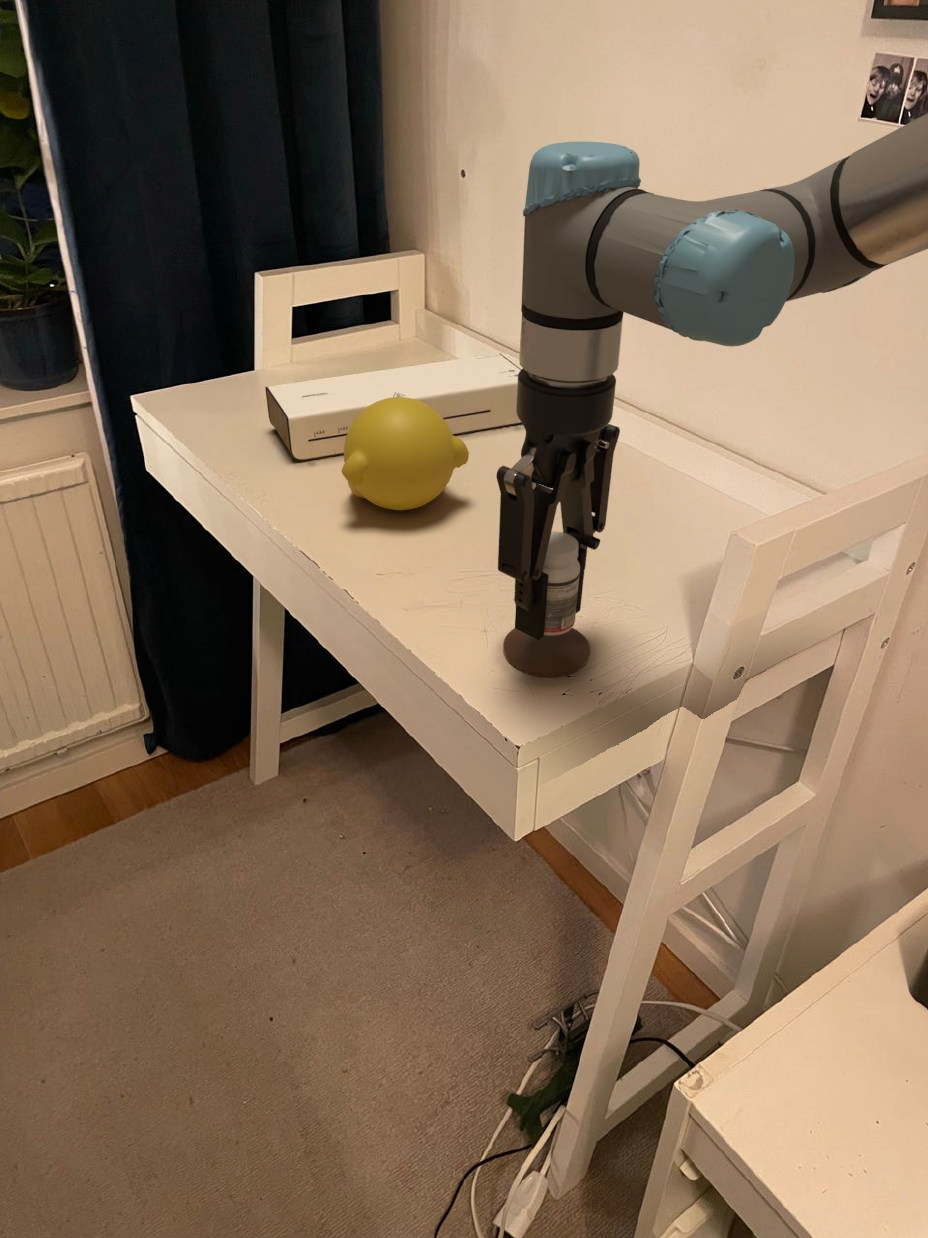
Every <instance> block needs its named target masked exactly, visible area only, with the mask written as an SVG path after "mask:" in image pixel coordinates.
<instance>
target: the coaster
mask: <svg viewBox="0 0 928 1238" xmlns="http://www.w3.org/2000/svg"><path fill="white" fill-rule="evenodd" d="M590 651H591V647H590V644H589V641H588V640H587V638H586V637H585V635H584V634H583V633H581V632H580V631H579V630H577V629H576V628H574V627H572V628H571V629H570V630H569V631H567V632H566V633H563V634H560V635H544V637H542V638H541V639H540V640H537V639H535V638H533V637H531V636H529V635H527V634H525V633H524V632H522V631H520V630H518V629H516V628H515V627H514V628H513V629H512V630H510V631H509V632H508V633H507V634H506V636H505V637H504V640H503V644H502V652H503V655H504V657H505V659H506V661H507V662H508V663H509V664H510V665H511V666H512V667H514V668H515V669H517V670H518V671H520V672H523V673H526V674H528V675H531V676H535V677H541V678H558V677H564V676H568V675H571V674H574V673H576V672H577V671H579V670H581V669H582V668H583V667H584V666H585V665H586V664H587V662H588V660H589V659H590V654H591V653H590Z"/></svg>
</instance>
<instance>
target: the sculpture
mask: <svg viewBox="0 0 928 1238" xmlns="http://www.w3.org/2000/svg"><path fill="white" fill-rule="evenodd" d="M469 455H470V452H469V449H468V447H467V445H466V443H465V442H464V441H463V440H462V439H461V438H460V437H458V436H457V435H454V436H453V435H452V433H451V431H450V429H449V427H448V425H447V423H446V422H445V420H444V419H443V418H442V417H441V416H440V415H439V414H438V413H437V412H436V411H435V410H434V409H433V408H431V407H430V406H428V405H427V404H425V403H423V402H421V401H418V400H415V399H412V398H405V397H393V398H387V399H383V400H380V401H377V402H375V403H373V404H372V405H370V406H368V407H367V408H366V409H364V410H363V411H362V412H361V413H360V414H359V415H358V416H357V417H356V419H355V420H354V421H353V423H352V425H351V427H350V428H349V431H348V433H347V436H346V440H345V445H344V454H343V461H344V463H343V465H342V468H341V474H342V476H343V477H344V478H345V480H347V484H348V487H349V489H350V491H351V493H353V494H354V495H355V496H356V497H359V498H361V499H362V498H363V499H366V500H367V501H368V502H370V503H372V504H374V505H375V506H378V507H380V508H383V509H386V510H393V511H409V510H414V509H418V508H421V507H423V506H425V505H427V504H429V503H431V502H432V501H433V500H434V499H436V498H437V497H438V496H439V495H440V494H441V493H442V492H443V491H444V490H445V488H446V487H447V486H448V484H449V482H450V481H451V478H452V476H453V474H454V470H456V469H457V468H458V469H459V468H461V467H462V466H464V465H466V464H467V463H468V461H469Z"/></svg>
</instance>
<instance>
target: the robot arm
mask: <svg viewBox="0 0 928 1238" xmlns="http://www.w3.org/2000/svg"><path fill="white" fill-rule="evenodd" d="M640 165H641V163H640V158H639V155H638V153H637V152H636V151H634V149H631V148H629V147H627V146H625V145H622V144H617V143H611V142H602V141H563V142H556V143H550V144H546V145H545V146H542V147H541V148H539V149H538V150H536V151H535V152H534V154H533V155H532V158H531V159H530V163H529V167H528V168H529V169H528V177H527V184H526V185H527V186H526V195H525V203H524V208H523V209H522V216H523V217H524V227H523V228H524V230H523V255H522V256H523V257H522V278H521V279H522V284H521V309H520V311H521V322H520V339H519V355H518V356H519V357H518V361H519V365H520V367H521V371H520V372H519V374H518V384H517V405H516V412H517V416H518V418H519V419H520V421H521V422H522V424H521V425H522V426H523V428H524V430H525V437H524V440H523V443H522V446H521V449H520V457H521V458H520V459H519V460H518V461H517V462H516V463H515V464H514V465H513V466H512V467H509V466H506V465H501V466H500V467H499V468H498V469H497V472H496V476H495V477H496V482H497V484H498V489H499V493H500V499H499V500H500V501H499V503H500V504H499V505H500V506H499V527H498V530H499V531H498V532H499V533H498V551H497V552H498V553H497V571H498V572H500V573H502V574H504V575H506V576H508V577H510V578H512V579H514V598H513V602H514V604H515V618H514V628H516V629H518V630H520V631H522V632H524V633H525V634H527V635H529V636H531V637H533V638H535V639H537V640H540V639H541V638H542V637H544V627H545V614H546V601H547V588H548V574H546V573H544V572H542V571H543V567H544V562H545V558H546V553H547V549H548V544H549V540H550V536H551V532H553V526H554V521H555V517H556V513H557V508H558V504H560V505H559V506H560V514H561V525H562V533H566V534H569V535H571V536H573V537H574V538H575V539H576V540H577V541H578V545H579V546H578V558H577V560H578V562H579V564H580V576H579V585H578V595H577V604H576V614H577V613H579V612H580V611H581V607H582V606H581V605H582V598H583V587H584V578H585V577H584V576H585V571H586V570H585V569H586V566H587V557H588V556H587V555H588V549H591V550H592V551H593V550H594V551H595V550H597V549H598V548H599V546H600V544H601V539H600V538H598V537H595V536H594V535H595V533H600V534H601V533H602V532H603V531H604V530H605V528H606V524H607V514H608V506H609V496H610V490H611V489H610V488H611V481H612V473H613V461H614V454H615V450H616V447H617V444H618V440H619V436H620V434H621V433H620V432H621V429H620V427H619V426H616V425H614V424H610V422H611V421H612V418H613V414H614V413H613V412H614V404H615V397H616V387H617V378H616V376H615V375H614V373H616V371H617V370H618V368H619V365H620V355H621V354H620V353H621V343H622V334H623V333H622V332H623V321H624V314H628V315H631V316H632V317H636V318H638V319H641V320H644V321H646V322H649V323H652V324H654V325H657V326H660V327H663V328H665V329H668V330H671V331H672V332H673V333H676V334H678V335H679V336H681V337H682V338H689V339H690V340H692V341H697V342H706V343H711V344H714V345H720V346H723V347H732V348H733V347H740V346H744V345H747V344H750V343H751V342H753V341H755V340H756V339H758V338H759V337H760V335H761V334H762V331H763V329H765V328H767V327H770V326H771V325H772V324H773V323H774V322H775V321H776V319H777V318H778V317H779V316H780V314H781V312H782V310H783V308H784V306H785V304H786V303H787V302H791V301H794V300H798V299H802V298H805V297H809V296H813V295H817V294H826V293H831V292H833V291H836V290H839V289H842V288H846V287H847V286H850V285H853V284H855V283H857V282H858V281H860V280H861V279H864V278H865V277H867V276H869V275H871V274H872V273H873V272H875V271H877V270H880V269H883V268H884V267H885V266H888V265H891V264H893V263H896V262H898V261H901V260H903V259H905V258H908V257H911V256H913V255H916V254H918V253H921V252H923V251H925V250H928V112H927V113H925V114H923V115H922V116H919V117H918V118H916V119H914V120H912V121H910V122H908V123H907V124H904V125H903V126H900V127H899V128H897V129H895V130H893V131H891V132H890V133H887V134H886V135H884V136H882V137H880V138H878V139H876V140H875V141H873V142H871V143H869V144H867V145H865V146H863V147H861V148H860V149H857V150H855V151H854V152H852V153H851V154H850V155H848V156H846V157H843V158H841V159H839V160H837V161H835V162H833V163H831V164H829V165H828V166H825V167H824V168H822V169H820V170H818V171H816V172H814V173H812V174H811V175H809V176H807V177H804V178H803V179H801V180H798V181H796V182H793V183H790V184H786V185H780V186H776V187H770V188H763V189H759V190H754V191H751V192H744V193H740V194H738V193H737V194H733V195H728V196H722V197H718V198H717V197H716V198H713V199H707V200H701V201H695V200H685V199H681V198H675V197H671V196H664V195H660V194H655V193H653V192H650V191H646V190H645V189H641V188H639V187H640V186H641V183H642V180H641V178H640ZM593 514H594V515H593Z"/></svg>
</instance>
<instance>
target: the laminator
mask: <svg viewBox="0 0 928 1238" xmlns="http://www.w3.org/2000/svg"><path fill="white" fill-rule="evenodd" d="M521 370H522V368H520V367H519V366H518V365H516V364H515V363H514V362H512V361H511V360H510V359H508V358H507V357H506V356H505V355H503V354H502V353H500V352H499V353H493V354H485V355H479V356H478V355H477V356H472V357H471V356H470V357H465V358H458V359H457V358H456V359H450V360H444V361H436V362H430V363H422V364H416V365H409V366H402V367H395V368H388V369H387V368H386V369H381V370H374V371H373V370H372V371H367V372H361V373H360V372H359V373H352V374H345V375H339V376H332V377H325V378H318V379H311V380H304V381H297V382H290V383H289V382H288V383H283V384H276V385H268V386H265V388H264V389H265V390H264V391H265V397H266V405H267V413H268V420H269V422H270V424H271V426H273V427H274V429H275V431H276V432H277V433H278V434H277V435H279V437H280V438H281V440H282V441H283V444H285V446H286V448H287V449H288V451H289V453H290V456H291V457H292V459H294V460H295V461H298V462H307V461H308V462H309V461H314V460H319V459H326V458H331V457H332V458H333V457H336V456H344V445H345V440H346V436H347V433H348V431H349V428H350V427H351V425H352V423H353V421H354V420H355V419H356V417H357V416H358V415H359V414H360V413H361V412H362V411H363V410H364V409H366V408H367V407H368V406H370V405H372V404H373V403H375V402H377V401H380V400H383V399H387V398H393V397H405V398H412V399H415V400H418V401H421V402H423V403H425V404H427V405H428V406H430V407H431V408H433V409H434V410H435V411H436V412H437V413H438V414H439V415H440V416H441V417H442V418H443V419H444V420H445V422H446V423H447V425H448V427H449V429H450V431H451V433H452V435H453V436H460V435H464V434H465V435H466V434H470V433H478V432H483V431H488V430H495V429H501V428H507V427H511V426H512V427H513V426H517V425H523V424H522V422H521V421H520V419H519V418H518V416H517V412H516V405H517V384H518V374H519V372H520V371H521Z"/></svg>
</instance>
